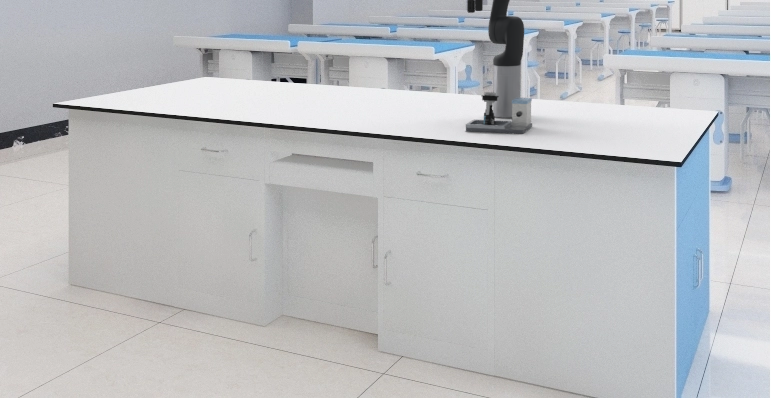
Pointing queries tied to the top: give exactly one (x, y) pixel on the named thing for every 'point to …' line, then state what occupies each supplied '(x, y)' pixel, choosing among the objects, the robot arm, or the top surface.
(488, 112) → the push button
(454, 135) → the top surface
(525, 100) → the base
